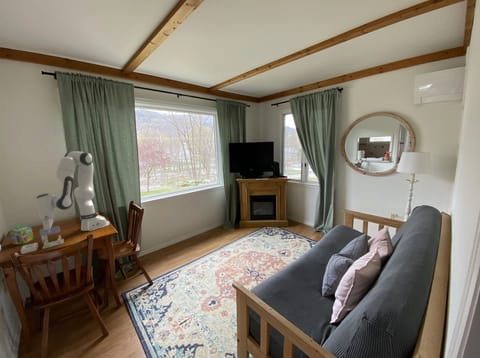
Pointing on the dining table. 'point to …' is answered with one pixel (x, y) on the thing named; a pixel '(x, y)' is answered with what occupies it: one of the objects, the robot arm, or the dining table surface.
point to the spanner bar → (53, 230)
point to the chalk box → (21, 235)
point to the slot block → (29, 248)
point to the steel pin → (44, 238)
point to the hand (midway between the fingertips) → (50, 231)
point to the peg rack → (54, 243)
